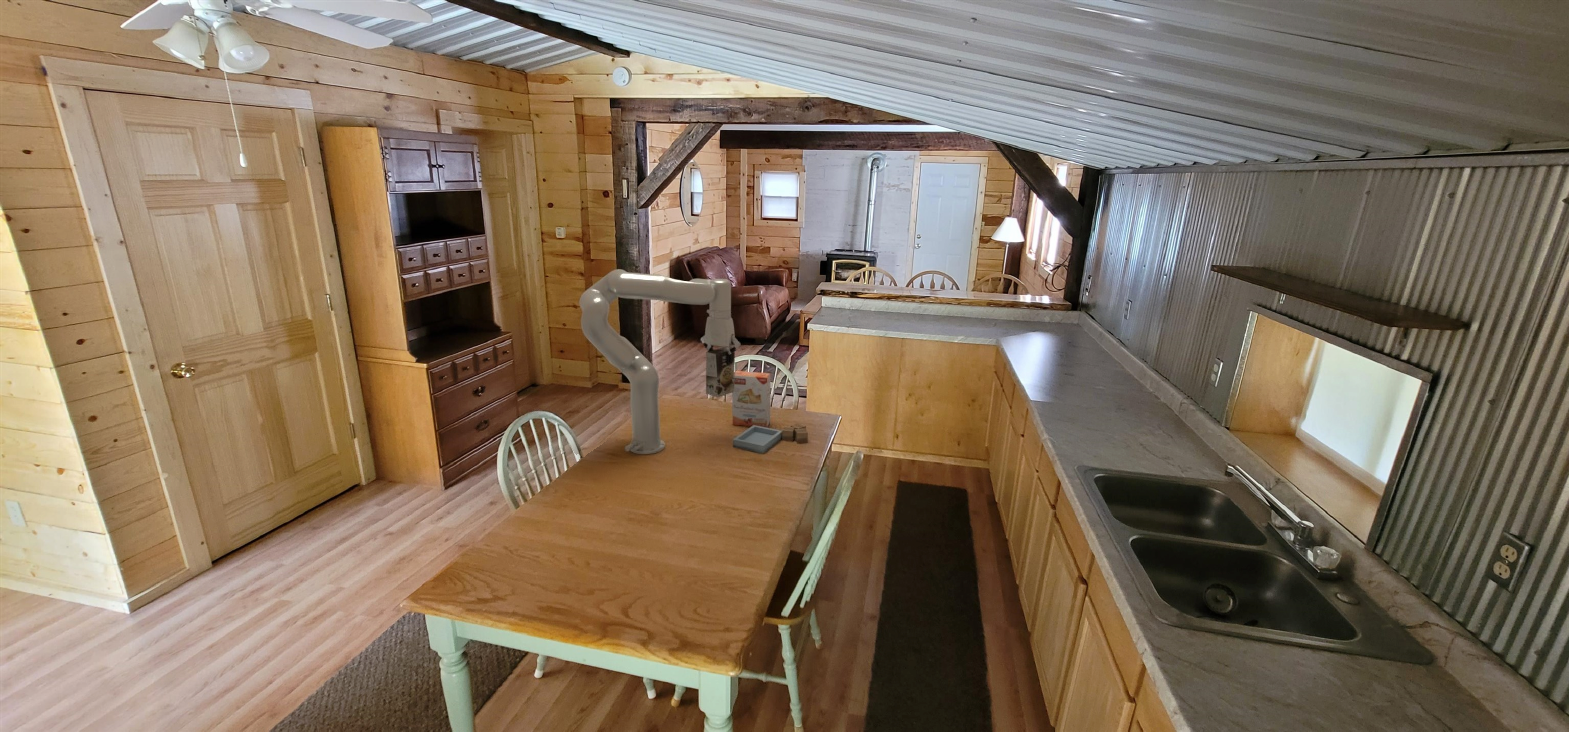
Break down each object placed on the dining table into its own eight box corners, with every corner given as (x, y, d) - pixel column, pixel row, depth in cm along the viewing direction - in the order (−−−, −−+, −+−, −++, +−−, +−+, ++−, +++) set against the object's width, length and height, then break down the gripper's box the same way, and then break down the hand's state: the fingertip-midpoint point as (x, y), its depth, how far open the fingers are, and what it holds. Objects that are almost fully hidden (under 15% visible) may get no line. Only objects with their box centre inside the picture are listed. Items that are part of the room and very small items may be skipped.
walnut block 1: (792, 441, 238) (792, 431, 237) (782, 440, 239) (782, 430, 238) (794, 437, 242) (794, 427, 241) (784, 436, 242) (784, 426, 241)
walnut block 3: (807, 442, 237) (807, 432, 236) (797, 443, 236) (797, 433, 235) (804, 438, 241) (804, 428, 240) (794, 439, 240) (794, 429, 239)
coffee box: (718, 397, 232) (718, 354, 227) (705, 394, 235) (705, 351, 231) (735, 391, 239) (735, 349, 234) (722, 388, 242) (722, 346, 238)
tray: (763, 453, 227) (763, 445, 226) (732, 446, 232) (732, 439, 231) (782, 438, 240) (783, 430, 239) (753, 432, 245) (753, 424, 245)
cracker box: (732, 425, 252) (731, 374, 246) (736, 419, 258) (735, 369, 252) (766, 428, 249) (767, 377, 243) (770, 423, 255) (770, 372, 249)
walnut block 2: (798, 438, 241) (798, 428, 239) (790, 435, 243) (790, 425, 242) (805, 435, 243) (805, 425, 242) (798, 432, 246) (798, 422, 245)
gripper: (693, 313, 229) (694, 361, 234) (736, 319, 222) (735, 368, 227) (705, 309, 236) (705, 356, 241) (746, 315, 228) (746, 363, 233)
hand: (720, 362), depth 234 cm, fingers closed on coffee box, 7 cm apart
